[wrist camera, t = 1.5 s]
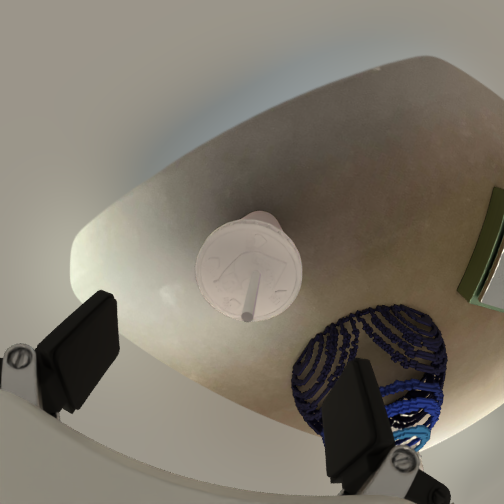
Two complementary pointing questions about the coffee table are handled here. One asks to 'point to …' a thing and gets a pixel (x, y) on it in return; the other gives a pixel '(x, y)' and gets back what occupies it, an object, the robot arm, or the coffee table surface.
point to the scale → (485, 251)
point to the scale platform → (494, 282)
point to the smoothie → (249, 268)
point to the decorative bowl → (400, 406)
